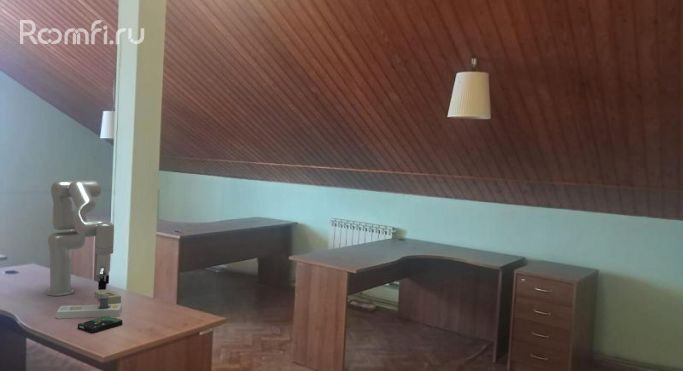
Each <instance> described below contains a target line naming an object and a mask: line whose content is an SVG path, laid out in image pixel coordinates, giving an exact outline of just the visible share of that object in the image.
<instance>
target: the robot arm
mask: <svg viewBox="0 0 683 371" xmlns="http://www.w3.org/2000/svg"><path fill="white" fill-rule="evenodd" d="M101 192H102V187H101V184H100V183H99V181H98V180H94V179H88V180H87V179H77V180H76V179H75V180H74V179H73V180H72V179H71V180H70V179H68V180H67V179H66V180H57V181H54V182H53V183H52V184H51V187H50V193H51V198H52V202H53V204H52V205H53V208H52V227H53V228H54V229H55V230H58V231H56V232H52V233H51V234H50V235H49V236H48V238H47V244H48V250H49V289H48V290H47V291H46V295H47V296H50V297H51V296H52V297H61V296H68V295H71V294H74V293H75V289H74V288H72V285H71V284H72V283H71V280H72V279H71V278H72V269H71V268H72V266H71V264H72V263H71V262H72V258H71V256H70V255H69V254H68V253H67V251H71V250H80V249H82V248H83V247H84V246H85V244H86V238H92V237H95V254H97V256H96V257H97V258H96V273H95V276H97V277H98V282H97V283H98V288H97V289H98V291H101V290H107V285H109V284H110V271H111V260H112V258H111V256H112V254H114V243H115V242H114V238H115V237H114V236H115V235H114V234H115V226H114V224H113V223H112V222H110V221H108V220H107V219H93V220H92V219H90V220H87V214H89V213H90V212H92V211H93V210H94V209H95V207H96V206H97V204H96V201H95V199H94V198H97V197H100V195H101ZM71 198H72V200H71ZM72 201H73V202H72ZM73 203H74V205H75V207H76V209H75V210H72V208H73ZM64 230H65V231H64ZM66 230H67V231H66Z"/></svg>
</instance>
